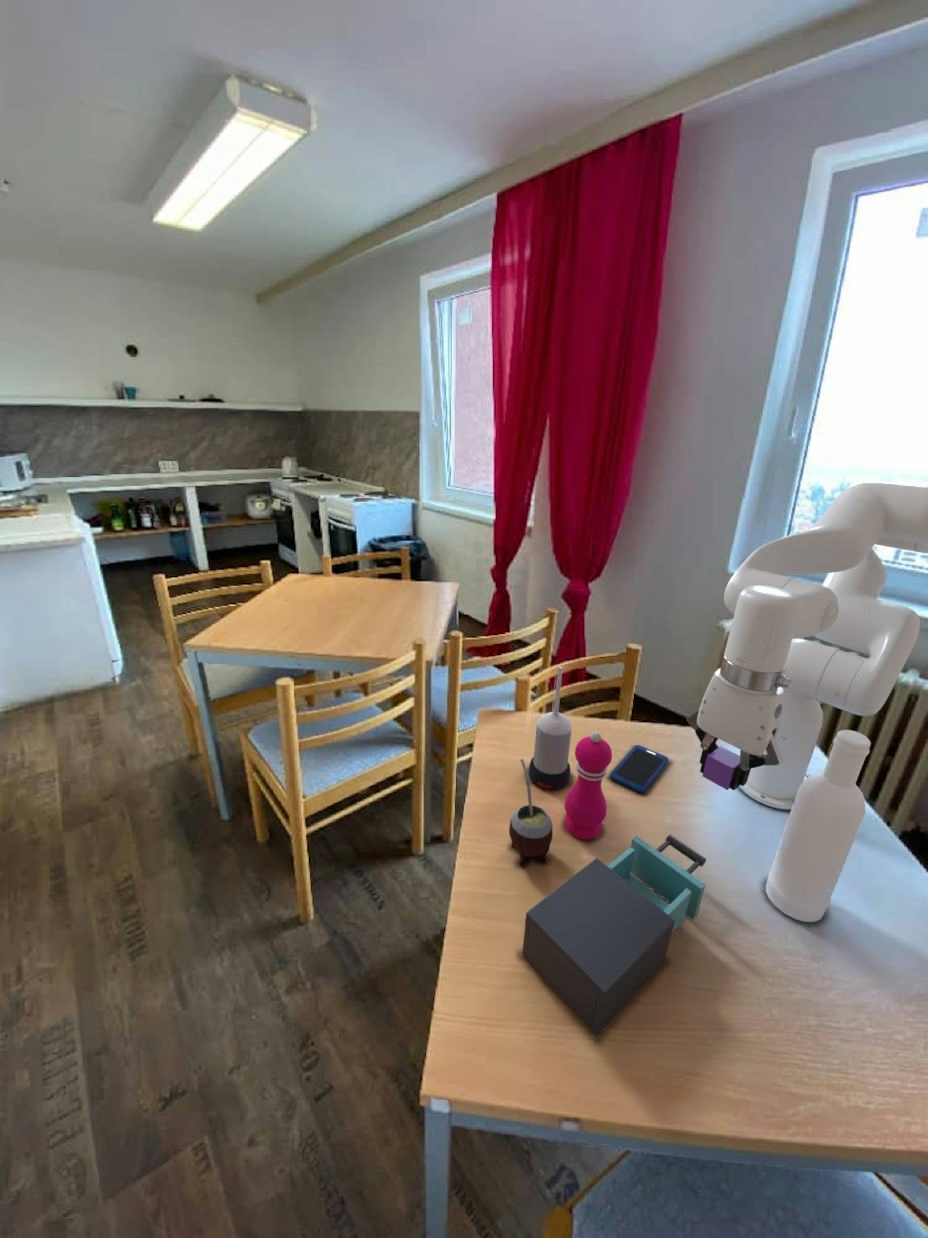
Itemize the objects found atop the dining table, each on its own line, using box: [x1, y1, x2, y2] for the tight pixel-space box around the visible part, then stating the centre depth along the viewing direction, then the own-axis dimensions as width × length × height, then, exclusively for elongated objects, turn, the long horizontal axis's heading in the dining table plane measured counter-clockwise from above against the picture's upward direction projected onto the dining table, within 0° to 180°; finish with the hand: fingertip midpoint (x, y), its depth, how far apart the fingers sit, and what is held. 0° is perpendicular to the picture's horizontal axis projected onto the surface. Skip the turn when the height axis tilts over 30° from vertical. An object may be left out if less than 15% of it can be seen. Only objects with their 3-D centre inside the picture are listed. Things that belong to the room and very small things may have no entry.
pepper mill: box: [564, 731, 613, 841], centre depth 89 cm, size 7×7×20 cm
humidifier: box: [528, 665, 572, 791], centre depth 100 cm, size 8×8×25 cm
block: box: [702, 745, 740, 791], centre depth 80 cm, size 4×4×4 cm
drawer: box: [607, 834, 707, 934], centre depth 76 cm, size 19×11×6 cm, turn 129°
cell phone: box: [609, 744, 669, 794], centre depth 107 cm, size 7×14×1 cm, turn 140°
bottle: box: [765, 729, 872, 923], centre depth 74 cm, size 8×8×30 cm
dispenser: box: [521, 857, 675, 1037], centre depth 69 cm, size 15×13×8 cm
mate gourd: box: [508, 758, 554, 867], centre depth 84 cm, size 8×8×15 cm
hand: (721, 776), depth 80 cm, fingers closed on block, 4 cm apart
